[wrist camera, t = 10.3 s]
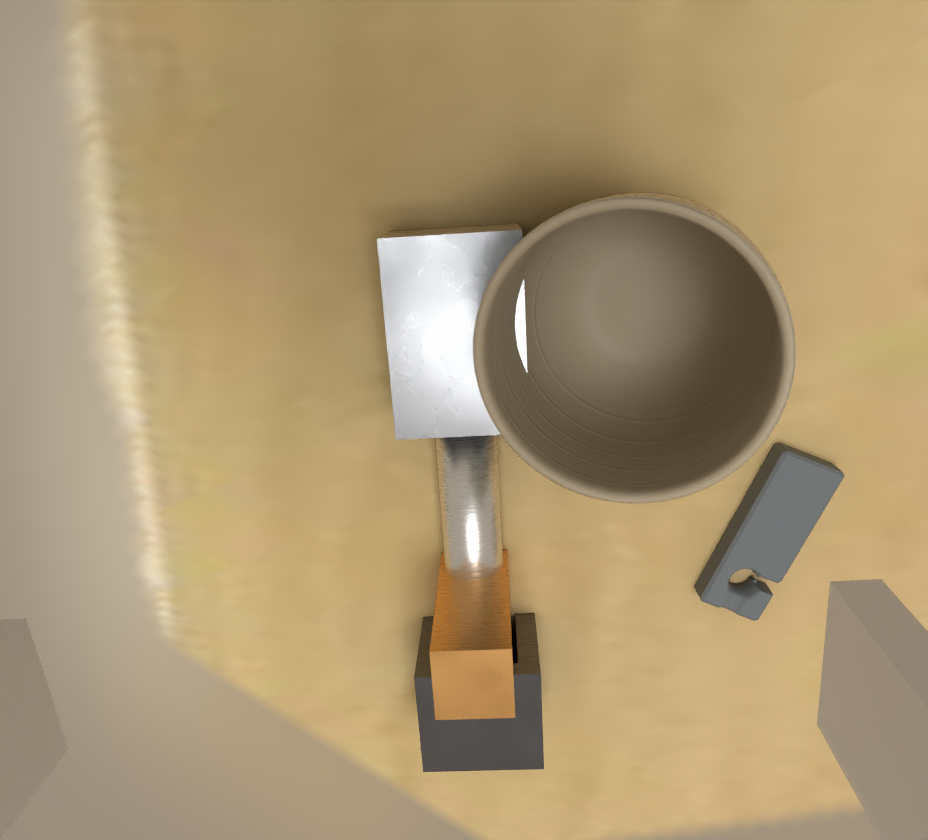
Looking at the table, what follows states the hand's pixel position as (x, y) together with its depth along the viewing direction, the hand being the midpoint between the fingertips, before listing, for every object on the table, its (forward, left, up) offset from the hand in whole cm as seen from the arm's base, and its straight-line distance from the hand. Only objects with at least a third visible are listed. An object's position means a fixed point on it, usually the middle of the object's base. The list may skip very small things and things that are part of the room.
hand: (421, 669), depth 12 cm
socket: (+22, 0, -30) cm, 37 cm away
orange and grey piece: (+14, 0, -30) cm, 33 cm away
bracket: (+13, +17, -31) cm, 38 cm away
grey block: (0, 0, -30) cm, 30 cm away
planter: (-1, +10, -29) cm, 30 cm away
